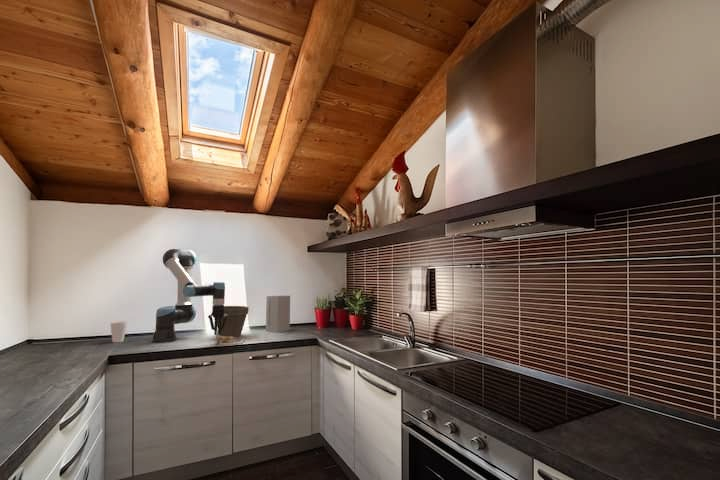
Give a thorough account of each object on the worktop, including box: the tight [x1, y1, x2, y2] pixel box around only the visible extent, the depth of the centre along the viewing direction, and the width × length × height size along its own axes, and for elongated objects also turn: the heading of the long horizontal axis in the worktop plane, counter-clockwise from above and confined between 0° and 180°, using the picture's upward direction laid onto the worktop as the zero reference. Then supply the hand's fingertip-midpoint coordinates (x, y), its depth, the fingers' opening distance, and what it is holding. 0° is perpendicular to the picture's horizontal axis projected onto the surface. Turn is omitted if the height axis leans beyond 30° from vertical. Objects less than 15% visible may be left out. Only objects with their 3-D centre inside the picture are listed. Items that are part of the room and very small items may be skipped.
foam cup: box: [110, 320, 128, 343], centre depth 254 cm, size 10×9×13 cm
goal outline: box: [218, 339, 246, 346], centre depth 248 cm, size 14×13×1 cm
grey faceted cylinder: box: [265, 295, 291, 334], centre depth 299 cm, size 19×15×28 cm
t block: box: [216, 336, 234, 345], centre depth 248 cm, size 9×8×4 cm
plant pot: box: [217, 305, 249, 339], centre depth 274 cm, size 25×25×22 cm
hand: (217, 340), depth 247 cm, fingers closed
